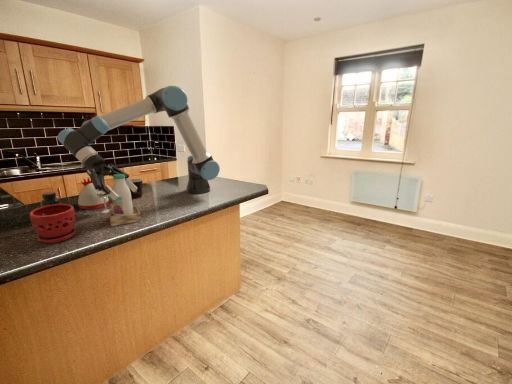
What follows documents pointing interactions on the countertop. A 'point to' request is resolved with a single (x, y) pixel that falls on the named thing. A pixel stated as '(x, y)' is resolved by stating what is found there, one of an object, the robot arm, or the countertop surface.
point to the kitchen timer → (90, 197)
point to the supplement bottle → (49, 200)
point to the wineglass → (102, 195)
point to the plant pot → (54, 222)
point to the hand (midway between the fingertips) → (126, 194)
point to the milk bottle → (122, 197)
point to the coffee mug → (139, 188)
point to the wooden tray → (125, 217)
